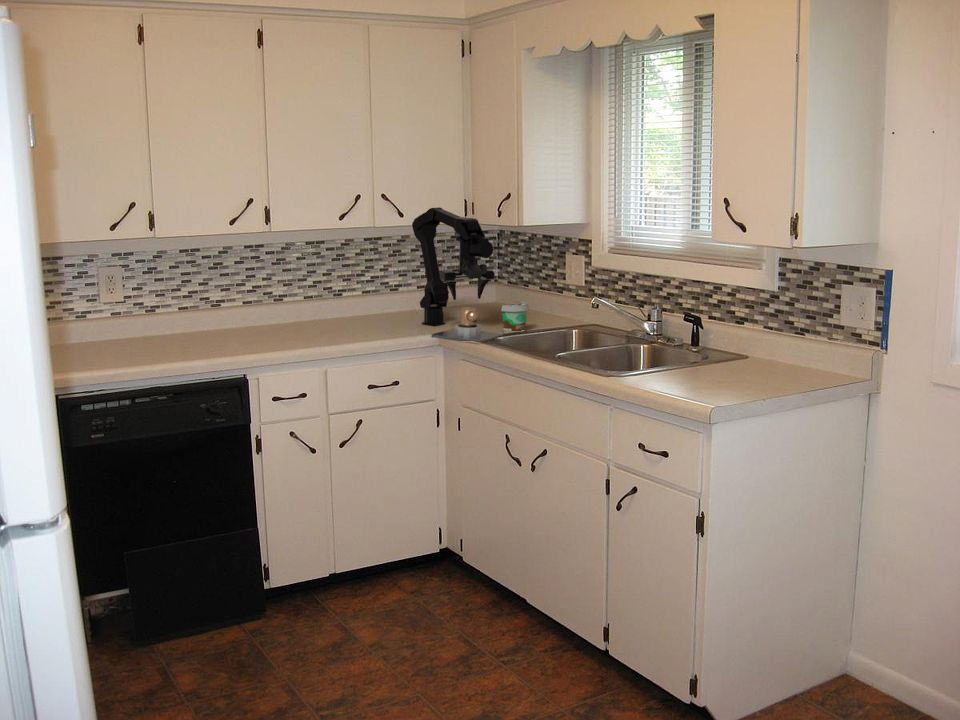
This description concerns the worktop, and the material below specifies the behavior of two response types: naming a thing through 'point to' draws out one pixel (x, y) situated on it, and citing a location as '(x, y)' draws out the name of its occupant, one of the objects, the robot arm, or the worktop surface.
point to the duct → (466, 334)
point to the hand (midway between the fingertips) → (466, 299)
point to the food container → (514, 316)
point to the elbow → (468, 317)
